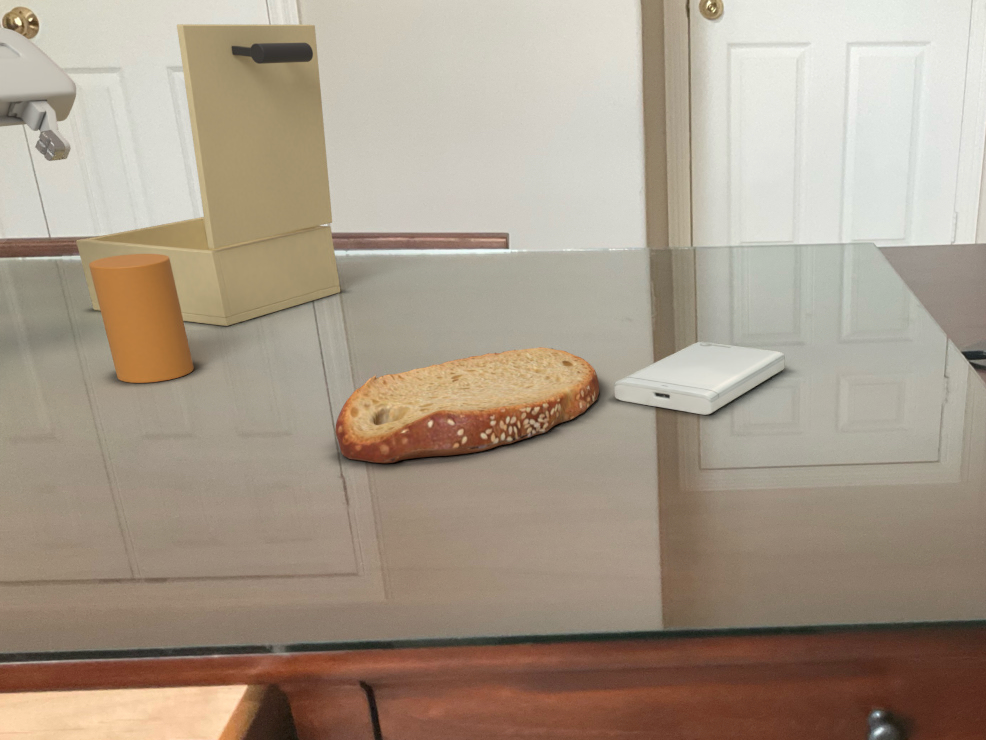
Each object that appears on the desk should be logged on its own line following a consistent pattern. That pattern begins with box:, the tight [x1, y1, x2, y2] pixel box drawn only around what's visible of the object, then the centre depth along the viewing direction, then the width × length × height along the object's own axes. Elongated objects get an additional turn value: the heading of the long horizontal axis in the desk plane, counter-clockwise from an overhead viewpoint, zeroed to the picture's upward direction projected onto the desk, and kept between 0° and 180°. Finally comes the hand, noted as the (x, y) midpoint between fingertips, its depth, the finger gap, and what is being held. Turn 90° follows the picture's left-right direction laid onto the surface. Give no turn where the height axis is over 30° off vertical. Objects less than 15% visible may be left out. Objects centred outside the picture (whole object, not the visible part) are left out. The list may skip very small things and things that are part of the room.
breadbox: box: [75, 216, 341, 327], centre depth 109 cm, size 18×16×7 cm
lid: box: [176, 23, 333, 248], centre depth 100 cm, size 18×16×4 cm
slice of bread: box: [334, 346, 600, 464], centre depth 76 cm, size 18×18×4 cm
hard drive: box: [613, 341, 786, 416], centre depth 83 cm, size 2×8×12 cm
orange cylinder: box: [89, 254, 195, 384], centre depth 86 cm, size 6×6×9 cm
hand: (7, 161), depth 85 cm, fingers open, 8 cm apart
